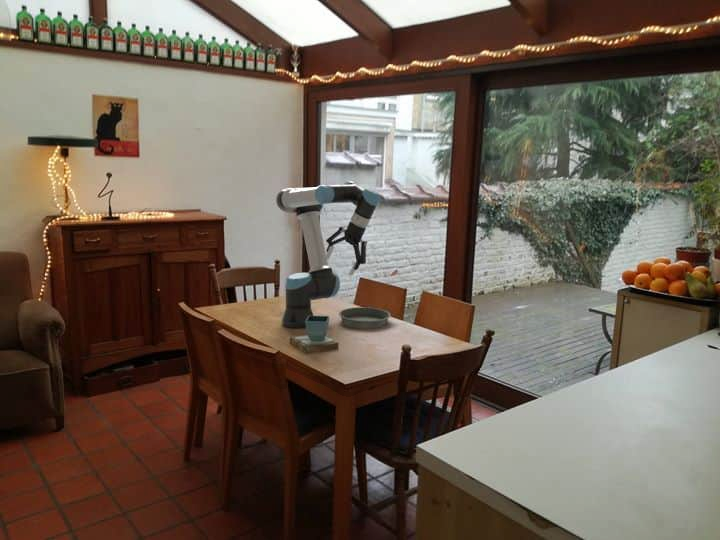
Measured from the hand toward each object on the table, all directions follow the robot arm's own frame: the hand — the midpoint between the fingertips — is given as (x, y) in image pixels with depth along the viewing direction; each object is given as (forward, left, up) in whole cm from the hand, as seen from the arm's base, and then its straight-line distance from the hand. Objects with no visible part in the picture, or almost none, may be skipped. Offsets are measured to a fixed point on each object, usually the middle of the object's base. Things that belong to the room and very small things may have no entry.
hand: (338, 267), depth 257 cm
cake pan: (-9, +20, -30) cm, 37 cm away
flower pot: (+13, -17, -27) cm, 34 cm away
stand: (+11, -18, -30) cm, 36 cm away
